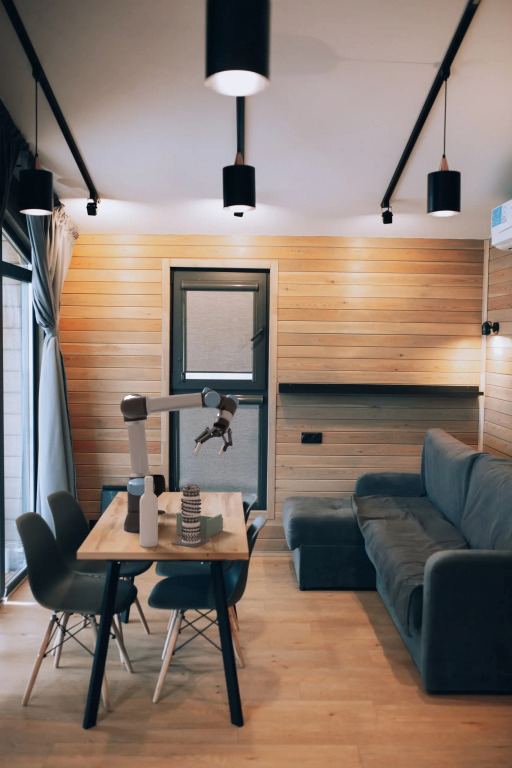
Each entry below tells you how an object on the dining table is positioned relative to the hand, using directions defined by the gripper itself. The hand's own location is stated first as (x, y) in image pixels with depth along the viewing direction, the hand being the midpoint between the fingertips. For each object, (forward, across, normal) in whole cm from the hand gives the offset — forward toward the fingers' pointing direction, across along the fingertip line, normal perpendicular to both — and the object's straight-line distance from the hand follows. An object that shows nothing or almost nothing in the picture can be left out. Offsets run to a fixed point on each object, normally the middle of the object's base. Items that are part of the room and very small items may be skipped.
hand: (207, 455), depth 304 cm
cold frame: (+29, +1, -22) cm, 37 cm away
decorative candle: (+41, -5, -9) cm, 42 cm away
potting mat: (+41, -5, -10) cm, 43 cm away
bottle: (+49, +10, -2) cm, 50 cm away
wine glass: (+12, +43, -39) cm, 60 cm away
